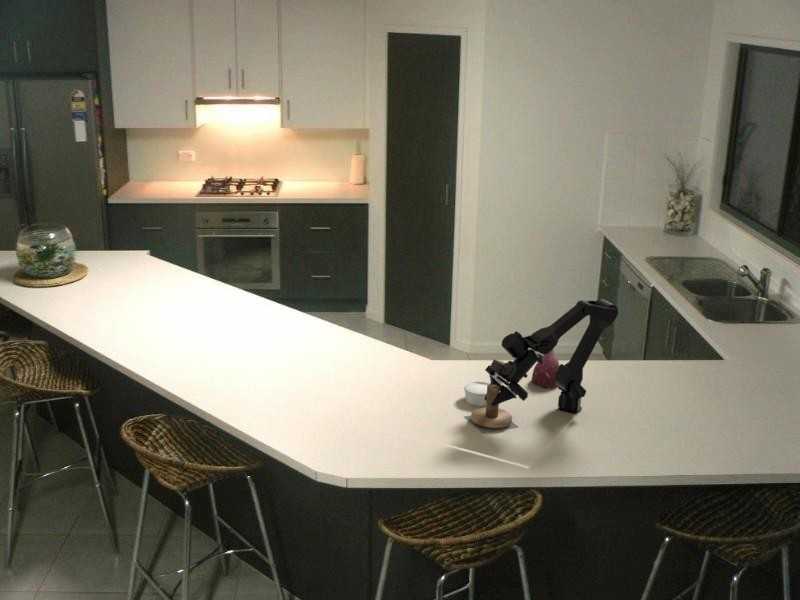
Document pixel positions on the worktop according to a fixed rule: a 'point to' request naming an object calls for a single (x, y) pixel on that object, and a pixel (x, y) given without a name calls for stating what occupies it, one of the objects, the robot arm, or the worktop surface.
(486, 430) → the rubber mat
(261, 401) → the worktop surface
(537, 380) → the vegetable
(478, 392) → the ramekin
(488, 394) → the walnut lid
